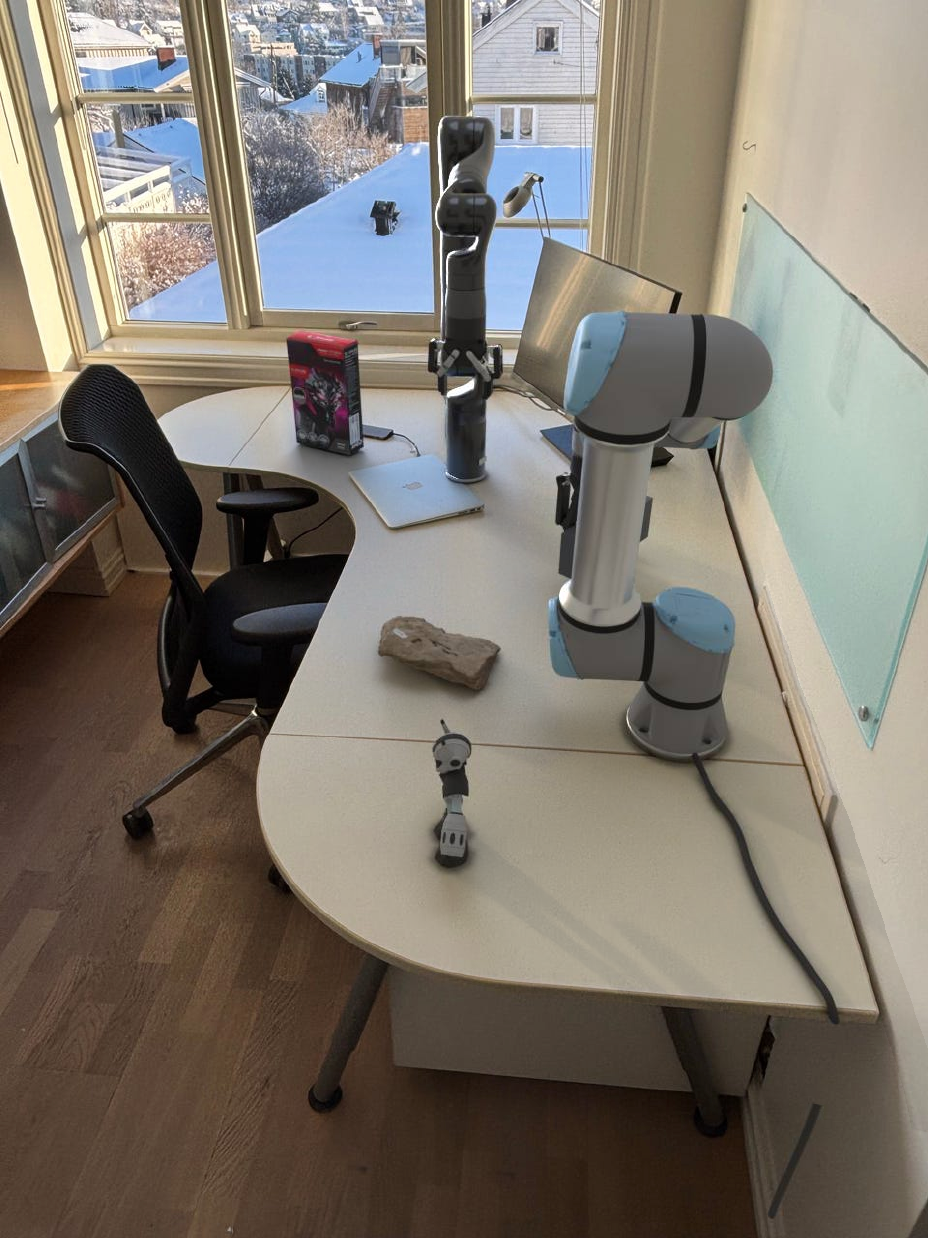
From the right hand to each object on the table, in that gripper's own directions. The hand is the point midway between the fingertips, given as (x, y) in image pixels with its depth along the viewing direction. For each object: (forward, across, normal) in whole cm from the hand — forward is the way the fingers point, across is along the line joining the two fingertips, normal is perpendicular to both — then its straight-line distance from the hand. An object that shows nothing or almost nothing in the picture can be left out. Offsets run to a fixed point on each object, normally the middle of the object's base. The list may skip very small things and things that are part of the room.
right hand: (582, 565), depth 174 cm
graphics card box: (+6, +87, -13) cm, 88 cm away
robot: (+5, -25, +64) cm, 69 cm away
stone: (+5, +4, +36) cm, 37 cm away
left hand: (-24, +32, -2) cm, 40 cm away
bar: (+1, 0, -7) cm, 7 cm away
